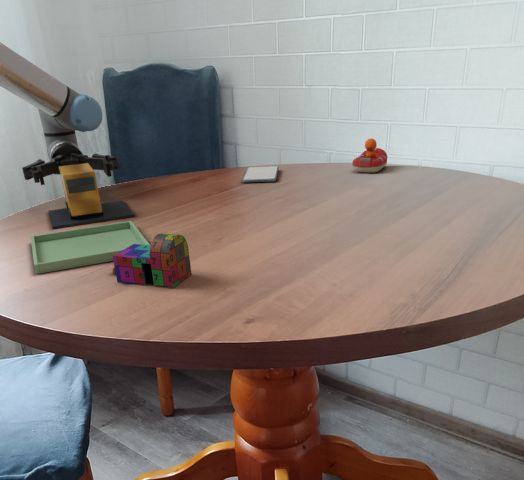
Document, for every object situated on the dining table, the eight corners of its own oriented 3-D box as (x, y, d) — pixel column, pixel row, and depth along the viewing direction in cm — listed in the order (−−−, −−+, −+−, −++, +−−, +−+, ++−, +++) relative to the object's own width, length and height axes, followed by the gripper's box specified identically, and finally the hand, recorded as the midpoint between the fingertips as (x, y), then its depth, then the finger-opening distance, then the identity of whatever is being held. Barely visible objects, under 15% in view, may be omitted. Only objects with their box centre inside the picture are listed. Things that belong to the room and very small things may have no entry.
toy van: (71, 222, 108) (61, 175, 103) (66, 209, 117) (57, 166, 113) (105, 217, 110) (96, 171, 106) (97, 205, 119) (89, 162, 115)
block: (199, 268, 82) (194, 224, 79) (172, 288, 76) (166, 241, 72) (132, 262, 86) (125, 219, 83) (102, 280, 80) (93, 235, 77)
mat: (53, 228, 106) (52, 226, 106) (48, 212, 117) (48, 210, 117) (134, 216, 111) (133, 214, 111) (122, 202, 122) (122, 200, 122)
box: (36, 274, 84) (33, 264, 83) (32, 244, 98) (30, 235, 97) (151, 254, 89) (150, 245, 89) (132, 228, 103) (131, 220, 103)
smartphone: (242, 179, 133) (247, 166, 146) (242, 183, 134) (248, 170, 146) (275, 178, 132) (278, 165, 145) (275, 182, 133) (278, 169, 146)
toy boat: (389, 165, 144) (391, 135, 140) (378, 174, 135) (380, 142, 131) (361, 164, 147) (363, 135, 143) (349, 173, 138) (350, 141, 134)
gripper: (122, 169, 135) (138, 184, 118) (16, 181, 128) (16, 200, 110) (116, 137, 132) (132, 148, 114) (7, 148, 124) (6, 162, 107)
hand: (75, 174), depth 112 cm, fingers open, 13 cm apart
